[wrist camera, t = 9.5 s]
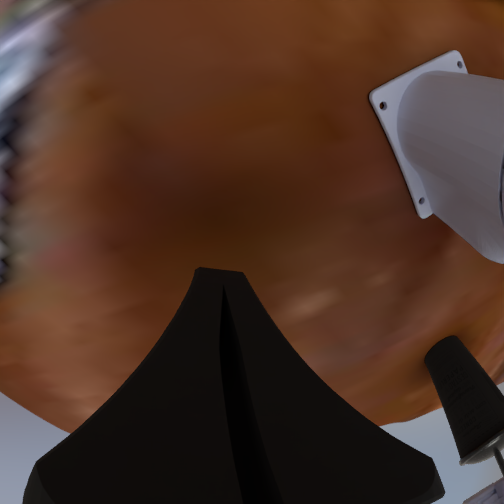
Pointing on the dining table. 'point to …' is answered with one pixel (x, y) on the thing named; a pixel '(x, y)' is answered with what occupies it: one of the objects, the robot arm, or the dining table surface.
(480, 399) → the drinking cup
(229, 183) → the dining table surface
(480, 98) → the robot arm
